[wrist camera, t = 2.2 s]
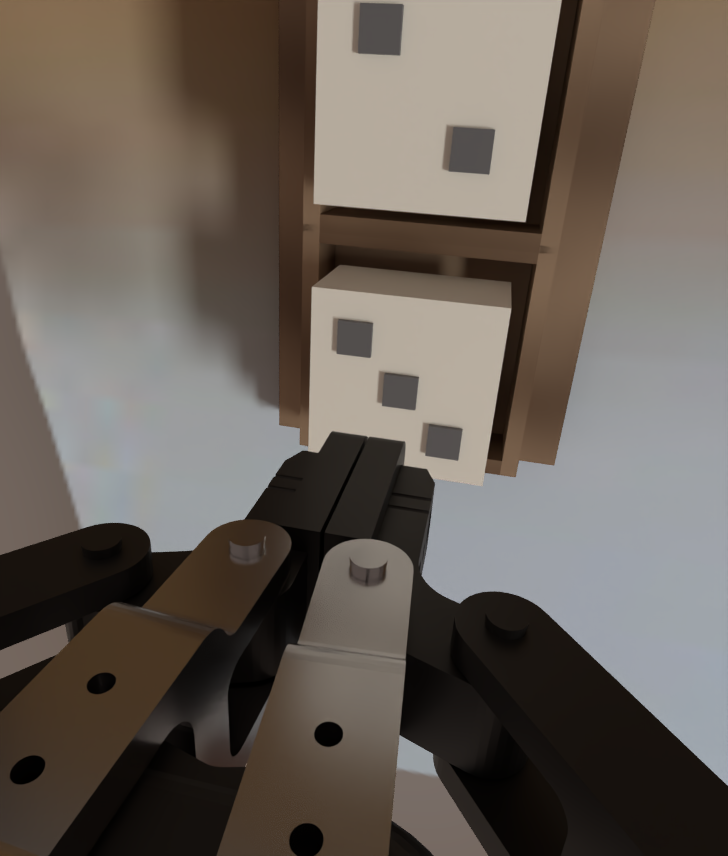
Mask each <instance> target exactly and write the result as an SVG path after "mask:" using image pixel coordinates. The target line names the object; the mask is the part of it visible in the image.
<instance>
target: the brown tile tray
mask: <svg viewBox="0 0 728 856" xmlns="http://www.w3.org/2000/svg"><path fill="white" fill-rule="evenodd" d="M654 4H655V0H562V2H561V8H560V14H559V20H558V26H557V33H556V39H555V45H554V51H553V57H552V63H551V69H550V75H549V82H548V88H547V94H546V100H545V106H544V112H543V118H542V124H541V131H540V137H539V143H538V149H537V155H536V161H535V167H534V173H533V180H532V186H531V192H530V198H529V204H528V210H527V216H526V222H517V221H506V220H494V219H483V218H471V217H460V216H448V215H436V214H425V213H413V212H402V211H390V210H379V209H367V208H356V207H344V206H332V205H321V204H314V160H315V113H316V67H317V20H318V0H279V425H282V426H289V427H296V428H300V445H305V446H308V441H309V394H310V348H311V301H312V286H313V285H315V284H316V283H317V282H319V281H320V280H321V279H322V278H324V277H325V276H326V275H328V274H329V273H330V272H331V271H333V270H334V269H335V268H337V267H338V266H339V265H348V266H357V267H367V268H377V269H387V270H397V271H407V272H416V273H426V274H436V275H446V276H456V277H465V278H475V279H485V280H495V281H505V282H511V314H510V320H509V327H508V333H507V339H506V345H505V351H504V357H503V363H502V369H501V376H500V382H499V388H498V394H497V400H496V406H495V412H494V418H493V425H492V431H491V437H490V443H489V449H488V455H487V461H486V467H485V473H491V474H497V475H504V476H510V477H516V472H517V467H518V462H519V460H521V461H528V462H534V463H541V464H548V465H554V464H555V459H556V454H557V450H558V445H559V441H560V436H561V431H562V427H563V422H564V418H565V413H566V409H567V404H568V399H569V395H570V390H571V386H572V381H573V376H574V372H575V367H576V363H577V358H578V353H579V349H580V344H581V340H582V335H583V330H584V326H585V321H586V317H587V312H588V308H589V303H590V298H591V294H592V289H593V285H594V280H595V275H596V271H597V266H598V262H599V257H600V252H601V248H602V243H603V239H604V234H605V229H606V225H607V220H608V216H609V211H610V207H611V202H612V197H613V193H614V188H615V184H616V179H617V174H618V170H619V165H620V161H621V156H622V151H623V147H624V142H625V138H626V133H627V128H628V124H629V119H630V115H631V110H632V105H633V101H634V96H635V92H636V87H637V83H638V78H639V73H640V69H641V64H642V60H643V55H644V50H645V46H646V41H647V37H648V32H649V27H650V23H651V18H652V14H653V9H654Z"/></svg>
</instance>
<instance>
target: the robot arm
mask: <svg viewBox="0 0 728 856" xmlns="http://www.w3.org/2000/svg"><path fill="white" fill-rule="evenodd" d="M405 449H406V443H405V441H398V440H391V439H384V438H377V437H369V438H368V437H367V436H363V435H356V434H349V433H342V432H335V431H332V432H331V433H330V434H329V436H328V438H327V439H326V441H325V443H324V444H323V446H322V448H321V449H320V451H319V453H316V452H310V451H301V452H300V453H298V454H296V455H294V456H293V457H291V458H289V459H287V460H285V462H284V463H283V465H282V466H281V467H280V469H279V470H278V472H277V473H276V477H274V478H273V479H272V480H271V482H270V483H269V485H268V488H266V489H265V491H264V492H263V493H262V495H261V496H260V498H259V499H258V501H257V502H256V504H255V505H254V506H253V508H252V509H251V511H250V512H249V514H248V515H247V517H246V518H245V519H244V520H238V521H233V522H229V523H226V524H223V525H221V526H219V527H217V528H216V529H214V530H213V531H211V532H210V533H209V534H208V535H207V536H206V537H205V538H204V539H203V540H202V542H201V543H200V544H199V545H198V546H197V547H196V548H195V549H194V550H193V551H178V552H151V543H150V538H149V536H148V535H147V533H146V532H145V531H144V530H142V529H140V528H139V527H136V526H133V525H129V524H124V523H105V524H98V525H94V526H90V527H86V528H83V529H80V530H77V531H74V532H71V533H68V534H65V535H61V536H59V537H55V538H52V539H49V540H46V541H43V542H40V543H37V544H34V545H30V546H27V547H24V548H21V549H18V550H15V551H12V552H9V553H6V554H2V555H0V650H2V649H4V648H7V647H9V646H12V645H14V644H16V643H19V642H22V641H24V640H27V639H29V638H32V637H34V636H37V635H39V634H41V633H44V632H46V631H49V630H51V629H54V628H56V627H59V626H61V625H64V624H65V626H66V632H67V637H68V642H69V643H68V644H67V645H66V646H65V647H64V648H63V649H62V650H61V651H60V652H59V653H58V654H57V655H55V656H53V657H50V658H48V659H46V660H44V661H41V662H39V663H37V664H34V665H32V666H29V667H27V668H25V669H22V670H20V671H18V672H15V673H13V674H11V675H9V676H6V677H4V678H1V679H0V856H433V855H432V854H431V852H430V851H429V850H428V849H426V848H425V847H424V846H423V845H422V844H421V843H420V842H419V841H418V840H417V839H416V838H414V837H413V836H412V835H411V834H410V833H408V832H407V831H405V830H404V829H403V828H401V827H400V826H398V825H397V824H396V823H394V822H393V821H392V810H393V799H394V788H395V777H396V766H397V756H398V745H399V735H401V736H402V737H404V738H406V739H408V740H409V741H411V742H413V743H415V744H417V745H418V746H420V747H422V748H424V749H425V750H427V751H429V752H431V753H433V760H434V766H435V769H436V772H437V774H438V776H439V778H440V780H441V781H442V783H443V784H444V786H445V788H446V789H447V791H448V792H449V794H450V796H451V797H452V799H453V800H454V802H455V803H456V805H457V807H458V808H459V810H460V811H461V812H462V814H463V816H464V818H465V819H466V821H467V822H468V824H469V826H470V827H471V829H472V830H473V832H474V834H475V835H476V837H477V838H478V840H479V841H480V843H481V845H482V846H483V848H484V849H485V851H486V852H487V854H488V856H728V786H727V785H726V784H725V783H724V782H723V781H722V780H721V779H720V778H719V777H718V776H717V775H716V774H715V773H714V772H712V771H711V770H710V769H709V768H708V767H707V766H706V765H705V764H704V763H703V762H702V761H701V760H700V759H699V758H698V757H697V756H696V755H695V754H694V753H693V752H691V751H690V750H689V749H688V748H687V747H686V746H685V745H684V744H683V743H682V742H681V741H680V740H679V739H678V738H677V737H676V736H675V735H674V734H673V733H672V732H670V731H669V730H668V729H667V728H666V727H665V726H664V725H663V724H662V723H661V722H660V721H659V720H658V719H657V718H656V717H655V716H654V715H653V714H652V713H651V712H649V711H648V710H647V709H646V708H645V707H644V706H643V705H642V704H641V703H640V702H639V701H638V700H637V699H636V698H635V697H634V696H633V695H632V694H631V693H630V692H628V691H627V690H626V689H625V688H624V687H623V686H622V685H621V684H620V683H619V682H618V681H617V680H616V679H615V678H614V677H613V676H612V675H611V674H610V673H609V672H607V671H606V670H605V669H604V668H603V667H602V666H601V665H600V664H599V663H598V662H597V661H596V660H595V659H594V658H593V657H592V656H591V655H590V654H589V653H588V652H587V651H585V650H584V649H583V648H582V647H581V646H580V645H579V644H578V643H577V642H576V641H575V640H574V639H573V638H572V637H571V636H570V635H569V634H568V633H567V632H566V631H564V630H563V629H562V628H561V627H560V626H559V625H558V624H557V623H556V622H555V621H554V620H553V619H552V618H551V617H550V616H549V615H548V614H547V613H546V612H544V611H543V610H542V609H541V608H540V607H538V606H537V605H535V604H534V603H532V602H530V601H528V600H526V599H524V598H522V597H519V596H517V595H513V594H509V593H504V592H482V593H478V594H474V595H472V596H469V597H468V598H466V599H465V600H463V601H462V602H461V603H460V604H459V603H457V602H455V601H452V600H450V599H448V598H446V597H444V596H442V595H441V594H439V593H437V592H436V591H435V590H433V589H432V588H431V587H430V586H429V585H428V584H427V583H426V582H425V580H424V579H423V577H422V576H421V575H422V570H423V564H424V560H425V555H426V550H427V543H428V535H429V527H430V519H431V511H432V503H433V495H434V487H435V483H434V481H433V479H432V477H431V475H430V474H429V472H428V470H427V469H423V468H417V467H410V466H404V460H405ZM246 764H247V765H246ZM245 766H246V767H245Z"/></svg>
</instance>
